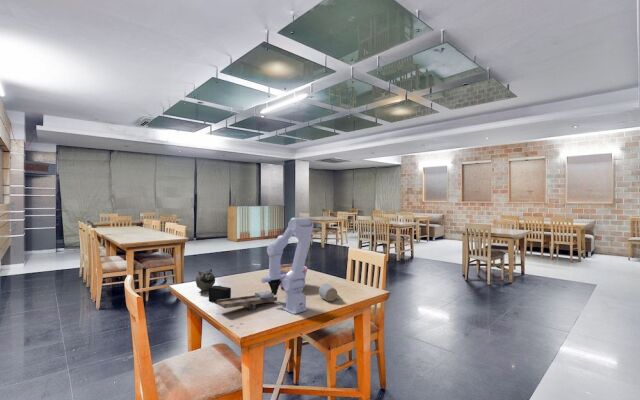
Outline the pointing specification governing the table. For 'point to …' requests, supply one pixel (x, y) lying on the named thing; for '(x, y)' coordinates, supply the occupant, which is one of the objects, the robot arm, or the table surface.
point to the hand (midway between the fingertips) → (274, 294)
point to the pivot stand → (250, 307)
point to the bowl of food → (286, 268)
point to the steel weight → (264, 295)
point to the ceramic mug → (328, 292)
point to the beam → (243, 301)
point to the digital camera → (219, 293)
